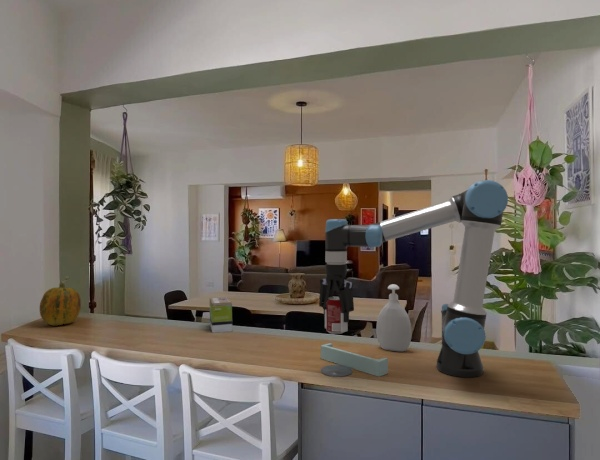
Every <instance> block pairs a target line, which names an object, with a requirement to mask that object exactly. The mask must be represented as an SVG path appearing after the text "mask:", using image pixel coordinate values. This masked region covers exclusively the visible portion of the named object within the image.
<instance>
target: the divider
mask: <svg viewBox="0 0 600 460" xmlns="http://www.w3.org/2000/svg"><path fill="white" fill-rule="evenodd" d="M320 359H321V360H323V359H324V360H323V361H328V362H330V363H333V362H334V364H335V365H342V366H347V367H349V368H351V369H352V370H357V371H360V372H361V373H366V374H369V375H372V376H376V377H380V378H381V377H382V376H384V375H386V374H389V358H387V357H381V358H380V359H377V358H373V357H369V356H366V355H363V354H358V353H355V352H350V351H347V350H344V349H340V348H337V347H333V343H331V342H329V343H325V344H322V345H320Z"/></svg>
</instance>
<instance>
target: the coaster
mask: <svg viewBox="0 0 600 460" xmlns="http://www.w3.org/2000/svg"><path fill="white" fill-rule="evenodd" d="M320 372H321V374H323V375H324V376H327V377H334V378H335V377H336V378H344V377H348V376H351V375H352V374H353V368H349V367H347V366H343V365H340V364H329V365H325V366H323V367H321V368H320Z"/></svg>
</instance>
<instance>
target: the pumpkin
mask: <svg viewBox="0 0 600 460" xmlns="http://www.w3.org/2000/svg"><path fill="white" fill-rule="evenodd" d="M64 278H65V279H64V280H61V281H60V282H59V284H58V287H51V288H49V289H48V290H46V291H45V292H44V294H43V295H42V298H41V300H40V303H39V315H40V317H41V319H42V320H43V322H44V323H45V324H47V325H50V326H54V327H55V326H56V327H57V326H58V325H59V326H63V324H64V325H69V324H71V323H73V322H74V321H75V320H76V319H77V318H78V316H79V314H80V312H81V308H82V307H81V305H82V300H81V295H80V293H79V292H78V291H77V290H76V289H74V288H72V287H70V286H69V287H66V285H65V284H66V283H68V282H69V280H70V276H67V275H66V276H65V277H64Z"/></svg>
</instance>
